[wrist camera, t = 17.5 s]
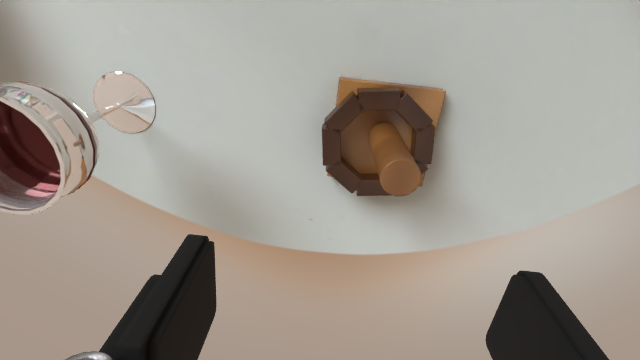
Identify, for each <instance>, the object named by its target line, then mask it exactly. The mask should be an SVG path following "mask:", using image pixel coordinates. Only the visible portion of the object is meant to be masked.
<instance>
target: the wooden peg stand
mask: <svg viewBox="0 0 640 360" xmlns="http://www.w3.org/2000/svg"><path fill="white" fill-rule="evenodd" d="M382 87H398V88H399V89H400V91H402V90H405V91H406V93H407V94H408V95H409V96H410V97H411V98H412V99H413V100H414V101H415V102H416V103H417V104H418V105H419V106H420V107H421V108H422V109H423V110H424V111H425V112H426V114H427V115H428V116H429V117H430V118H431V119H432V120H433V122H432V124H433V125H434V126H435V132H436V128H437V124H438V120H439V116H440V112H441V108H442V104H443V101H444V97H445V93H446V91H444V90H443V89H439V88H431V87H422V86H413V85H404V84H396V83H387V82H378V81H370V80H361V79H352V78H343V77H340V78H339V86H338V93H337V101H336V107H337V106H338V105H339V103H340V102H341V101H342V100H343V99H344V98H345V97H346V96H347V95H348V94H349V93H350V92H351V91H353V92H354V93H355V94H356V95H357V93H358V88H382ZM434 136H435V134H434ZM411 138H412V127H411V126H410V125H409V124H408V123H407V122H406V121H405V120H404V119H403V118H402V117H401V116H400V115H399V114H398V113H397V111H396V110H370V111H362V112H361V113H360V114H359V115H358V116H357V117H356V118H355V119H354V120H353V121H352V122H351V123H350V124H349V125H348V126H347V127H346V128H345V129H344V130H343V131H342V132H341V156H342V157H343V158H344V159H345V160H346V161H347V162H348V163H349V164H350V165H352V166H353V167H354V168H355V169H356V170H357V171H358V172H359V173H378V176H379V179H380V183H381V186H382V188H383V189H384V190H385V191H386V192H387V193H389V194H391V195H394V196H405V195H408V194H410V193H412V192H413V191H414V190H415V189H416V188H417V187H418V186H422V183H423V179H424V175H425V172H424V173H423V174H422V175H421V172H420V169H419V167H418V165H417V164H416V162H415V160H414V158H413V156H412V155H411V153H410V151H411ZM426 166H427V164H426ZM328 176H331V175H330V174H329V173H328ZM332 177H333V176H332Z"/></svg>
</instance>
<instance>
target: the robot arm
mask: <svg viewBox="0 0 640 360" xmlns="http://www.w3.org/2000/svg"><path fill="white" fill-rule="evenodd" d="M215 282H216V281H215V253H214V242H212V241H209V239H208V237H207V236H200V235H191V234H189V235H188V236H187V237H186V238H185V240H184V241H183V243H182V245H181V246H180V247H179V249H178V250H177V252H176V253H175V255H174V257H173V258H172V260H171V261H170V263H169V264H168V266H167V267H166V269H165V270H164V272H163V273H162V275H153V276H151V277H150V279H149V280H148V281H147V282H146V284H145V285H144V287H143V288H142V290H141V292H140V293H139V294H138V296H137V297H136V298H135V300H134V301H133V303H132V304H131V306H130V307H129V309H128V310H127V312H126V313H125V314H124V316H123V318H122V319H121V320H120V322H119V323H118V325H117V326H116V327H115V329H114V330H113V332H112V333H111V335H110V336H109V338H108V339H107V341H106V342H105V343H104V345H103V346H102V348H101V349H100V351H99V352H97V351H91V352H83V353H80V354H76V355H73V356H71V357H69V358H67V359H65V360H197V359H198V357H199V354H200V352H201V349H202V346H203V344H204V341H205V339H206V337H207V334H208V332H209V329H210V326H211V324H212V321H213V319H214V316H215V312H216V283H215ZM486 345H487V348H488V350H489V352H490V355H491V357H492V359H493V360H609V359H608V358H607V356H606V355H605V354H604V352H603V351H602V350H601V349H600V347H599V346H598V345H597V343H596V342H595V341H594V339H593V338H592V337H591V336H590V334H589V333H588V332H587V330H586V329H585V328H584V327H583V325H582V324H581V323H580V322H579V320H578V319H577V318H576V316H575V315H574V314H573V312H572V311H571V310H570V308H569V307H568V306H567V305H566V303H565V302H564V301H563V299H562V298H561V297H560V295H559V294H558V293H557V292H556V290H555V289H554V288H553V286H552V285H551V284H550V283H549V281H548V280H547V279H546V277H545V276H544V275H543V274H541V273H539V272H530V271H519V272H518V273H517V275H513V276H512V277H511V279H510V282H509V284H508V286H507V289H506V291H505V293H504V295H503V298H502V300H501V302H500V305H499V307H498V309H497V311H496V314H495V316H494V318H493V321H492V323H491V325H490V327H489V330H488V332H487V335H486Z"/></svg>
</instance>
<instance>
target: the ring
mask: <svg viewBox="0 0 640 360" xmlns="http://www.w3.org/2000/svg"><path fill="white" fill-rule="evenodd" d="M370 110H396V111H397V113H398V114H399V115H400V116H401V117H402V118H403V119H404V120H405V121H406V122H407V123H408V124H409V125H410V126H411V127H412V138H411V151H410V153H411V155H412V156H413V158H414V160H415V162H416V164H417V165H418V167H419V169H420V172H421V175H422V174H423V173H424V172H425V171H426V170H427V169H428V168H427V166H426V164H431V161H432V152H433V143H434V134H435V126H434V125H433V124H432V122H433V120H432V119H431V118H430V117H429V116H428V115H427V114H426V112H425V111H424V110H423V109H422V108H421V107H420V106H419V105H418V104H417V103H416V102H415V101H414V100H413V99H412V98H411V97H410V96H409V95H408V94H407V93H406V91H405V90H402V91H400V89H399V88H398V87H382V88H358V93H357V95H356V94H355V93H354V92H353V91H351V92H350V93H349V94H348V95H347V96H346V97H345V98H344V99H343V100H342V101H341V102H340V103H339V105H338V106H337V107H336V108H335V109H334V110H333V111H332V112H331V113H330V114H329V115H328V116H327V117H326V118H325V124H323V125H322V145H323V165H324V166H326V171H327V172H328V173H329V174H330V175H331V176H333V177H334V178H335V179H336V180H337V181H338V182H339V183H341V184H342V185H343V186H344V187H345V188H346V189H347V190H348V191H350V192H351V193H353V192H354V191H356V190H357V196H378V195H391V194H389V193H387V192H386V191H385V190H384V189H383V188H382V186H381V183H380V179H379V176H378V173H359V172H358V171H357V170H356V169H355V168H354V167H353V166H352V165H350V164H349V163H348V162H347V161H346V160H345V159H344V158H343V157H342V156H341V132H342V131H343V130H344V129H345V128H346V127H347V126H348V125H349V124H350V123H351V122H352V121H353V120H354V119H355V118H356V117H357V116H358V115H359V114H360V113H361V112H362V111H370Z"/></svg>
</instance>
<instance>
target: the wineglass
mask: <svg viewBox="0 0 640 360" xmlns="http://www.w3.org/2000/svg"><path fill="white" fill-rule="evenodd" d="M94 103H95V106H96V109H97V111H94V112H91V113H88V114H85V112H84V111H83V110H82V109H81V108H80V107H79V106H77V105H76V104H75V103H74V102H73V101H72V100H71V99H70V98H68V97H66V96H65V95H63V94H61V93H59V92H58V91H56V90H54V89H50V88H47V87H43V86H39V85H36V84H32V83H28V82H7V83H0V211H3V212H7V213H11V214H34V213H37V212H39V211H42V210H45V209H48V208H49V207H50V206H51V205H52V204H53V203H54V202H55V201H56V200H57V199H59V198H60V197H62V196H65V195H68V194H70V193H73V192H75V190H77V189H79V188H80V187H81V186H82V185H83V184H84V183H86V181H88V180H89V179H90V177H91V175H92V173H93V171H94V168H95V166H96V163H97V160H98V157H99V141H98V138H97V135H96V132H95V128H94V126H93V125H92V123H93V122H95V121H97V120H99V119H101V118H103V119H104V120H105V121H106V122H107V123H108V124H109V125H110V126H112V127H114V128H115V129H117V130H119V131H123V132H126V133H138V132H140V131H143V130H145V129H146V128H147V127H148V126H149V125H151V123H152V121H153V119H154V117H155V103H154V99H153V97H152V95H151V93H150V91H149V89H148V88H147V87H146V86H145V85H144V84H143V83H142V82H141V81H140V80H139V79H137V78H136V77H134V76H132V75H130V74H127V73H123V72H110V73H108V74H106V75H103V76H102V77H101V78H100V79H99V80H98V81H97V83H96V86H95V88H94Z"/></svg>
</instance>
